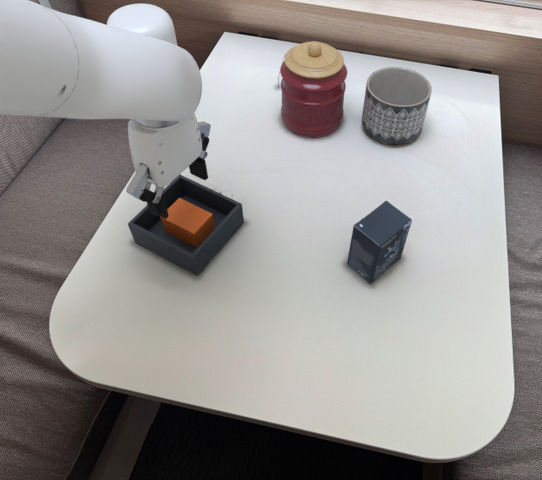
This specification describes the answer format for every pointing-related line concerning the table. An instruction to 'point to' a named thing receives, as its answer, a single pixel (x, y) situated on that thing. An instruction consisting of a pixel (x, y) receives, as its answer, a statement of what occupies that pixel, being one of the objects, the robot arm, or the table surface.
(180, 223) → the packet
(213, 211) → the tray
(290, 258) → the table surface
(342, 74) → the kitchen canister
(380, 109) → the planter
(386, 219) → the box
